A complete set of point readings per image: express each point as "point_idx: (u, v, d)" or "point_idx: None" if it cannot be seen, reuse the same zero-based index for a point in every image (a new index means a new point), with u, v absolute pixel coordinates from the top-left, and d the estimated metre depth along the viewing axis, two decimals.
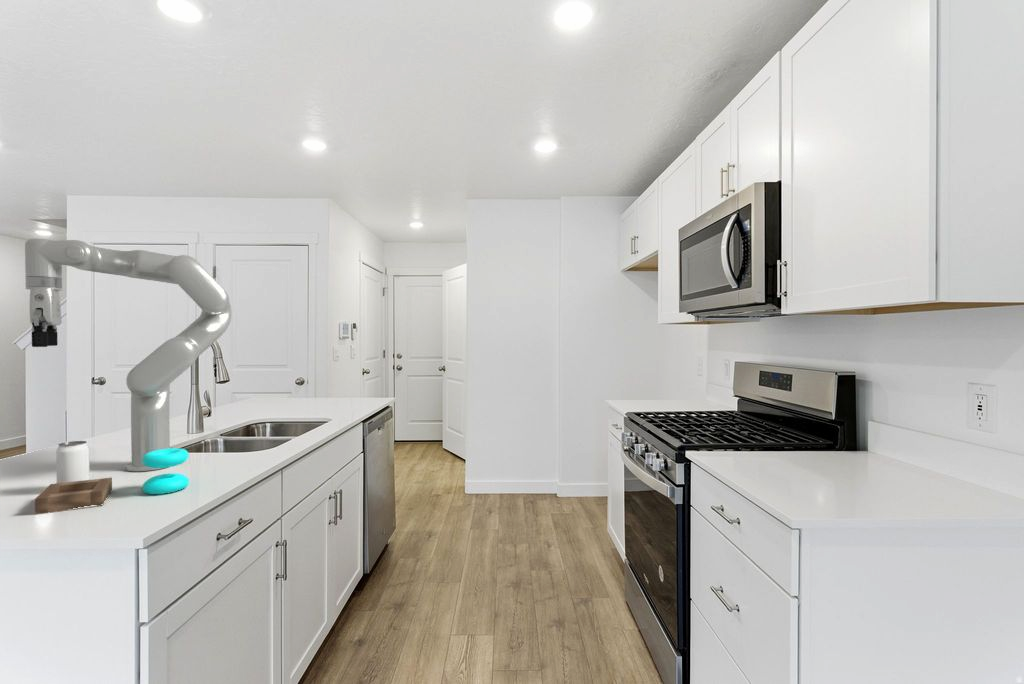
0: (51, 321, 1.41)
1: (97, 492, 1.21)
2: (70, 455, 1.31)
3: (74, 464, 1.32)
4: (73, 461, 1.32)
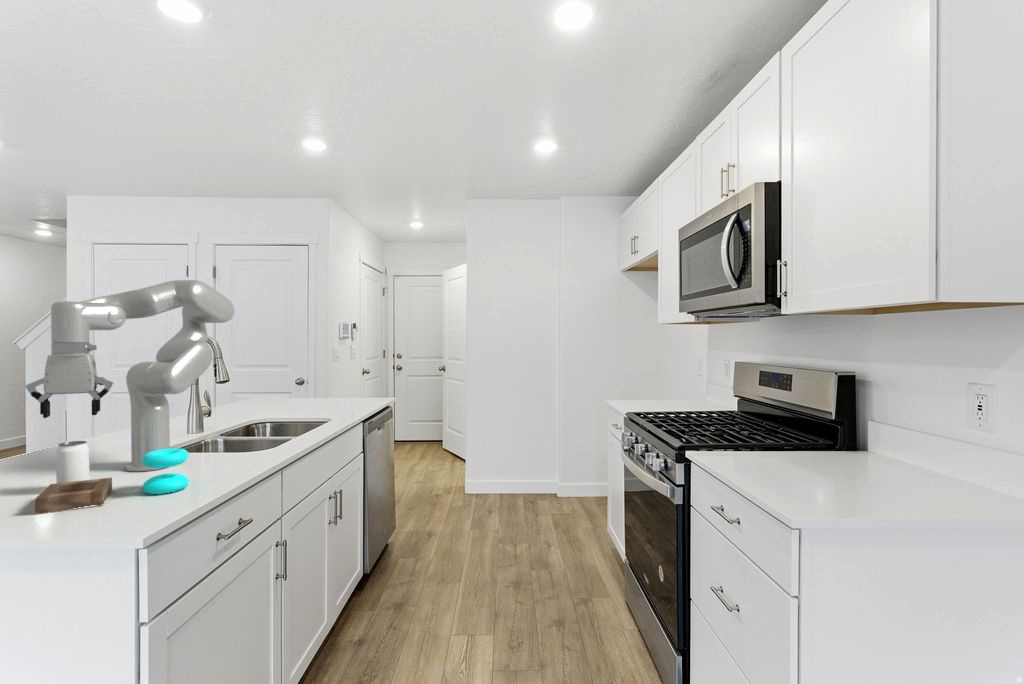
0: None
1: (97, 492, 1.21)
2: (70, 455, 1.31)
3: (74, 464, 1.32)
4: (73, 461, 1.32)
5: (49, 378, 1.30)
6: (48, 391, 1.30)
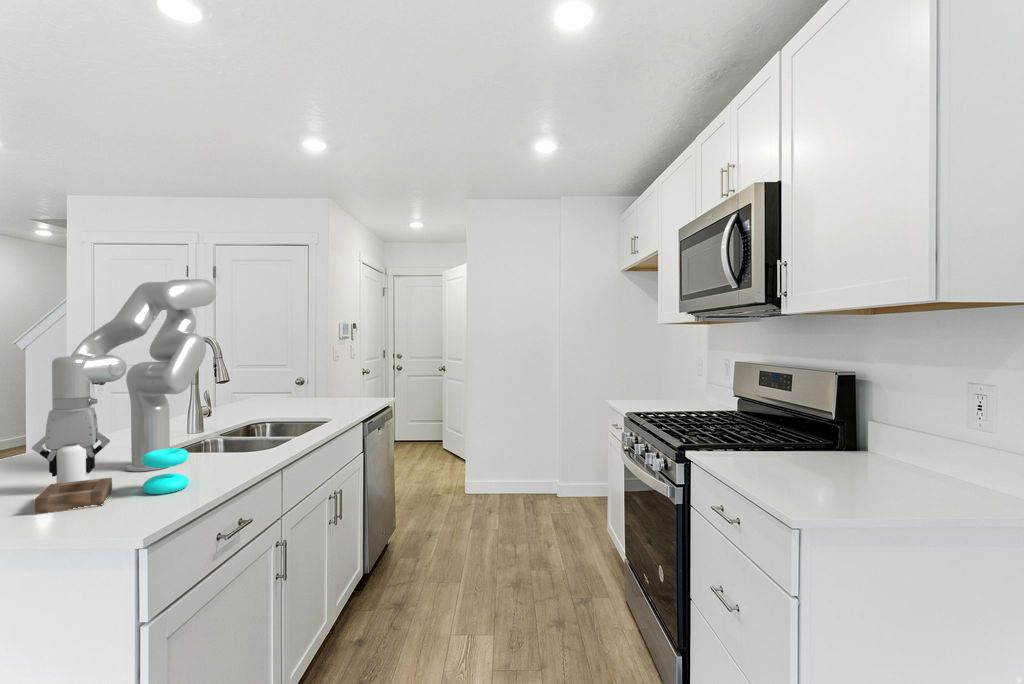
0: None
1: (97, 492, 1.21)
2: (70, 455, 1.31)
3: (74, 464, 1.32)
4: (74, 461, 1.32)
5: (50, 434, 1.30)
6: (49, 447, 1.30)
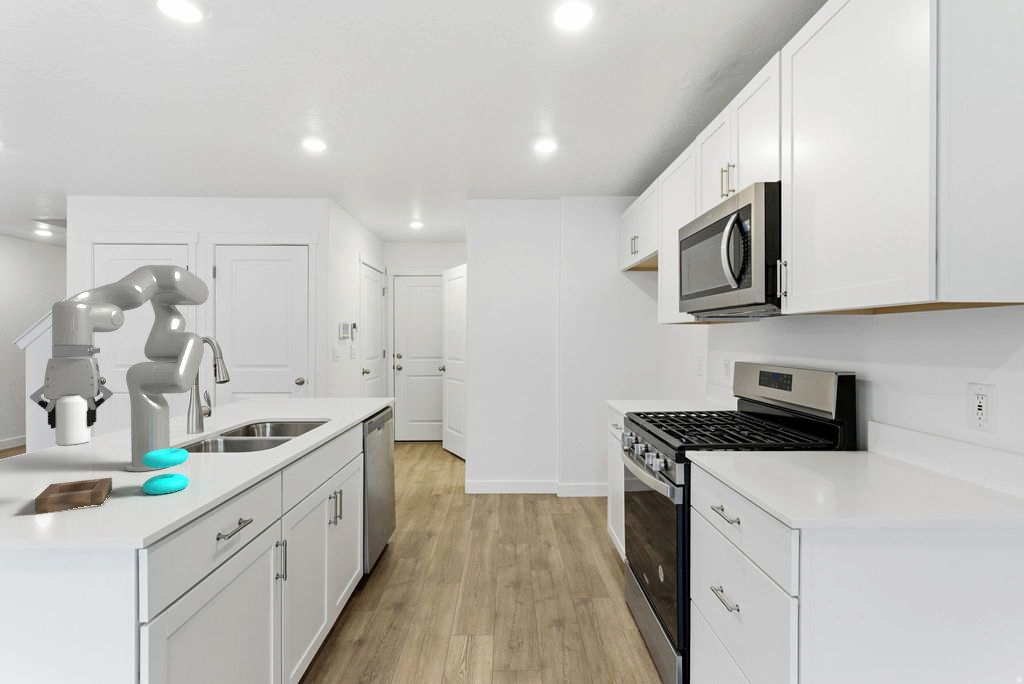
0: None
1: (97, 492, 1.21)
2: (70, 406, 1.23)
3: (74, 415, 1.23)
4: (74, 412, 1.23)
5: (49, 382, 1.22)
6: (48, 397, 1.22)
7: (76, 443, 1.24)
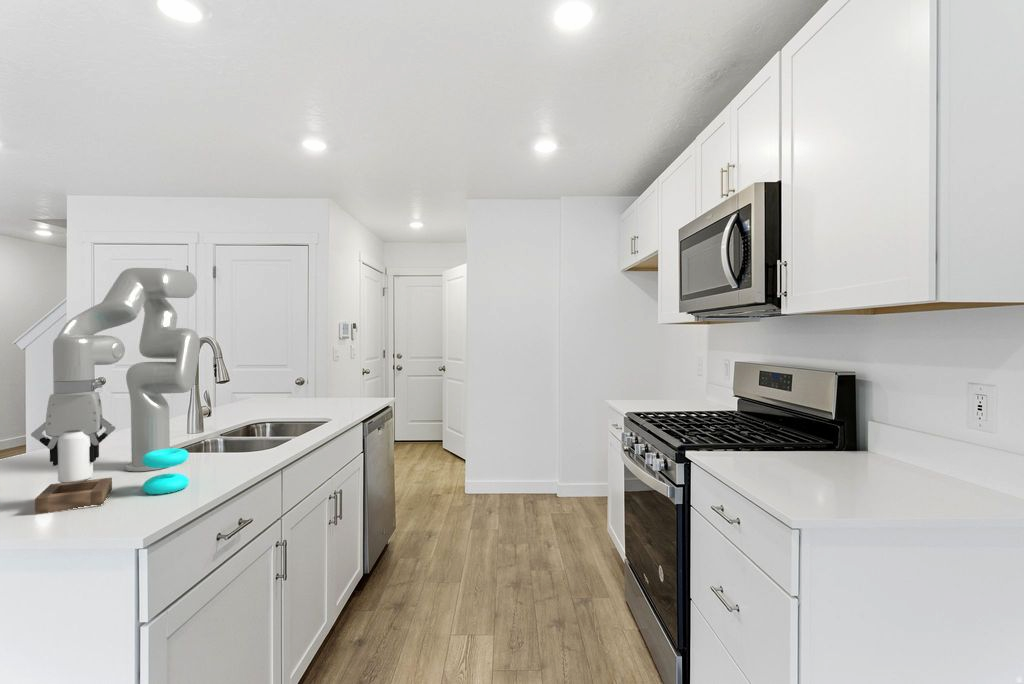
0: None
1: (97, 492, 1.21)
2: (72, 442, 1.21)
3: (77, 452, 1.22)
4: (76, 448, 1.22)
5: (51, 419, 1.20)
6: (50, 434, 1.20)
7: (79, 480, 1.22)
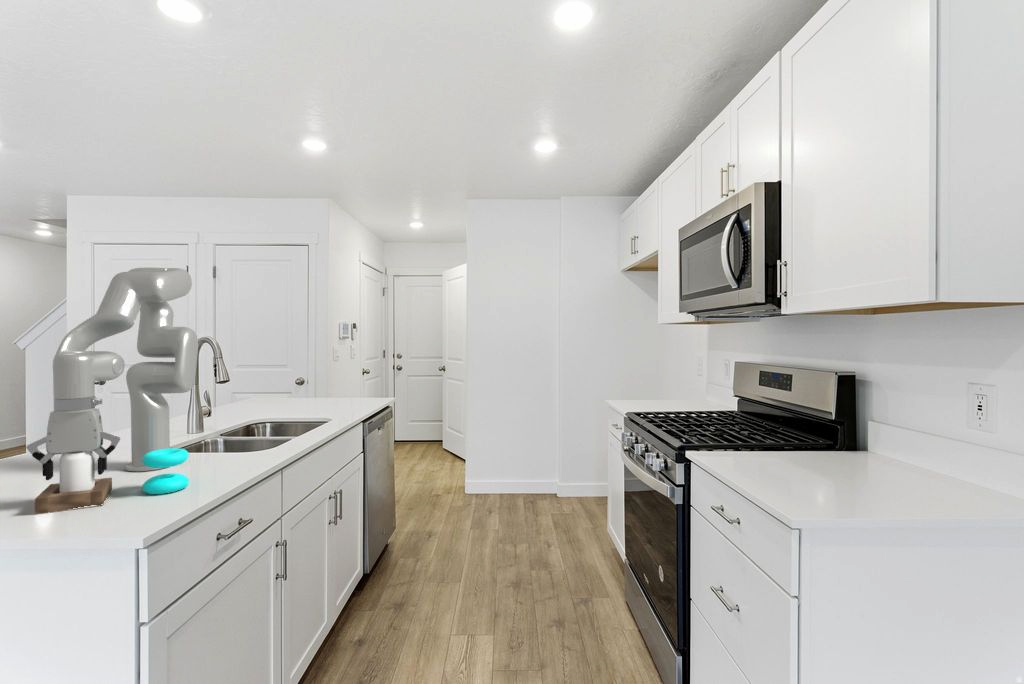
0: None
1: (97, 492, 1.21)
2: (75, 463, 1.22)
3: (79, 473, 1.22)
4: (78, 469, 1.22)
5: (52, 437, 1.20)
6: (51, 451, 1.20)
7: None
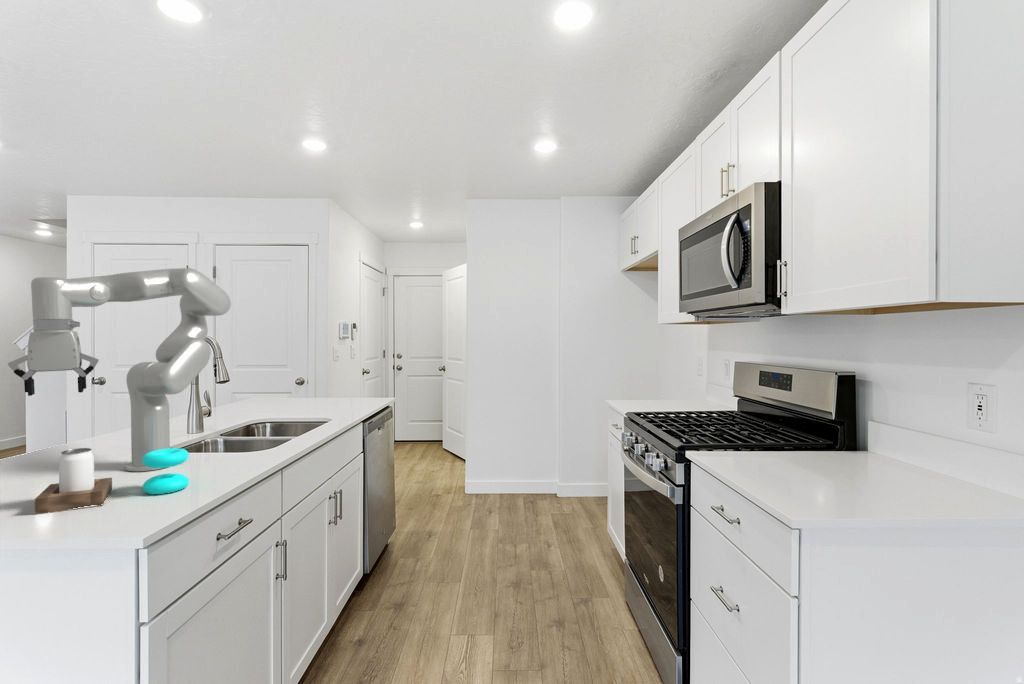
0: None
1: (97, 492, 1.21)
2: (74, 464, 1.22)
3: (78, 473, 1.22)
4: (78, 470, 1.22)
5: (33, 355, 1.28)
6: (32, 368, 1.28)
7: None
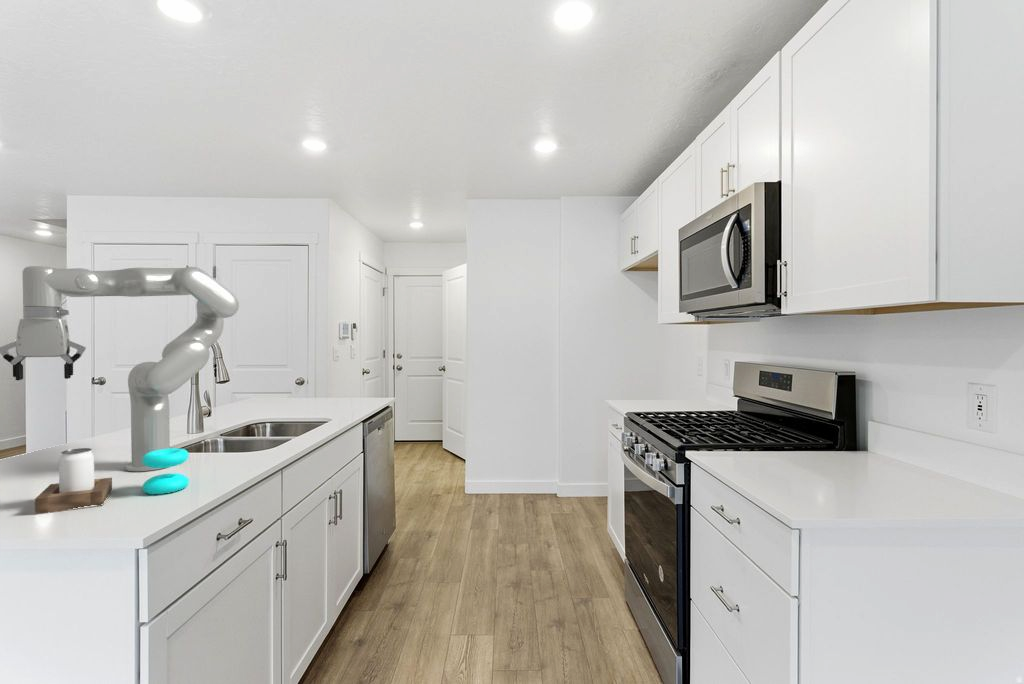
0: None
1: (97, 492, 1.21)
2: (74, 464, 1.22)
3: (78, 473, 1.22)
4: (78, 470, 1.22)
5: (21, 341, 1.32)
6: (20, 354, 1.32)
7: None
